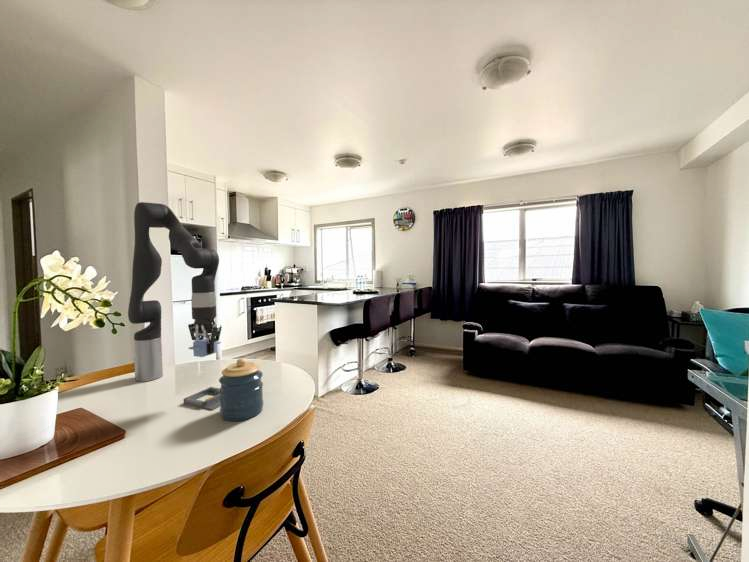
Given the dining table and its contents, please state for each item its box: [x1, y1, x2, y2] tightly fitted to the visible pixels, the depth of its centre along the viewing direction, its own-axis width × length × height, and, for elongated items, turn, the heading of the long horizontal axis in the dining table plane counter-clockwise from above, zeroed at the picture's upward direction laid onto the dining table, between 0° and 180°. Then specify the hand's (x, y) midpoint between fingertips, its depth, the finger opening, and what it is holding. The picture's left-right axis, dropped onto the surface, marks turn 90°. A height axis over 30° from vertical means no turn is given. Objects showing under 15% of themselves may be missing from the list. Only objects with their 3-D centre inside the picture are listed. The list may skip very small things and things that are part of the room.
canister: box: [218, 358, 264, 422], centre depth 98 cm, size 13×13×18 cm
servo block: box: [188, 337, 222, 358], centre depth 107 cm, size 4×10×6 cm, turn 159°
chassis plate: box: [183, 386, 221, 411], centre depth 107 cm, size 14×11×2 cm
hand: (205, 352), depth 107 cm, fingers closed on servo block, 4 cm apart
